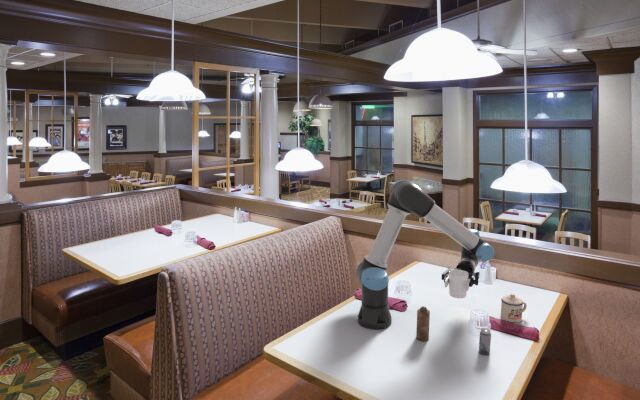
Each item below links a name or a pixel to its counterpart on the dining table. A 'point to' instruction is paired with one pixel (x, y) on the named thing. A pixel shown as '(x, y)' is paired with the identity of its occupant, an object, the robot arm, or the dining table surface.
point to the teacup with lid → (512, 308)
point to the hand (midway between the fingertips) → (456, 285)
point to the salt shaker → (484, 342)
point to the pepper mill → (423, 324)
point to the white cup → (458, 283)
